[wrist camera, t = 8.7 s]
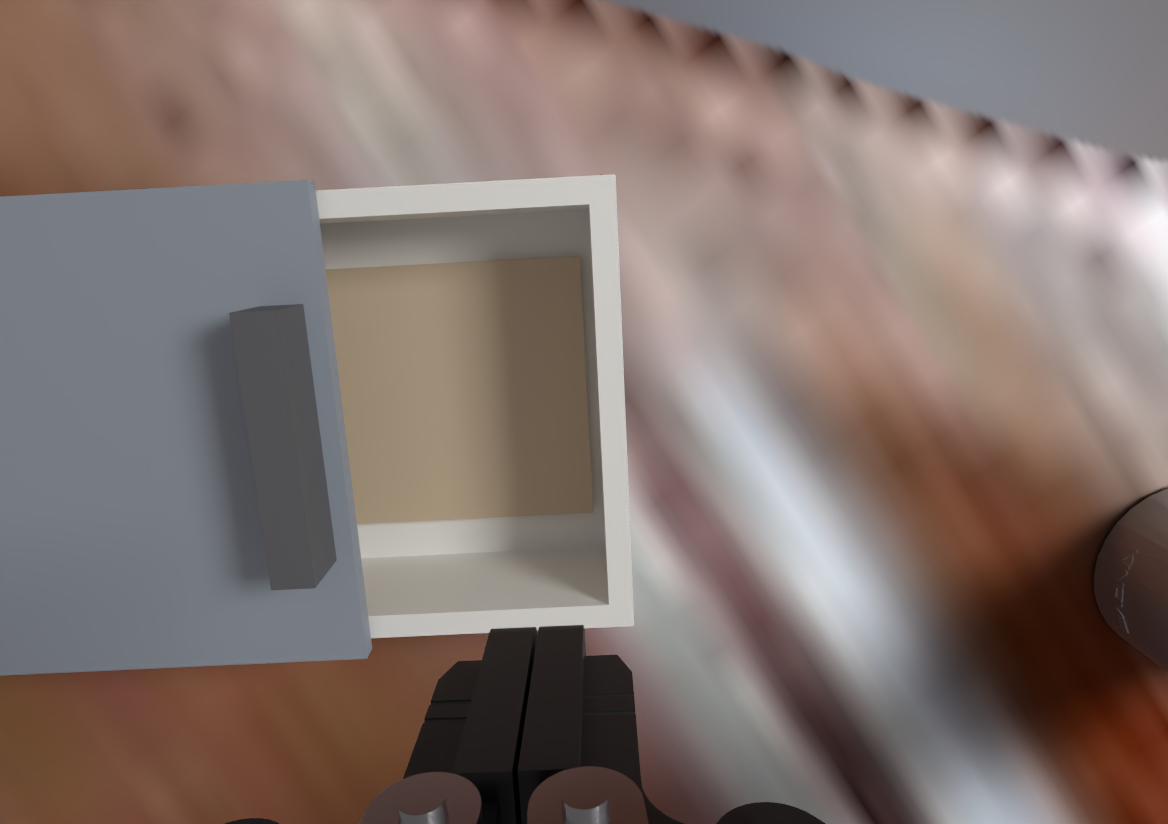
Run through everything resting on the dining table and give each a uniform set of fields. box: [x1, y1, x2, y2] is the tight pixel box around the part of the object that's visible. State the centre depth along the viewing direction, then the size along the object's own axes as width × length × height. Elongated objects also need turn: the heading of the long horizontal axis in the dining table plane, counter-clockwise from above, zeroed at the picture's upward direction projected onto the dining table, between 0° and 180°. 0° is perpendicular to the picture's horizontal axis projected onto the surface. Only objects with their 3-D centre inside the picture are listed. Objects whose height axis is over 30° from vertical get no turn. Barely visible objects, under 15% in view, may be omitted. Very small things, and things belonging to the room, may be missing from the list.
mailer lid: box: [0, 180, 372, 676], centre depth 29 cm, size 21×19×3 cm
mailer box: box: [316, 174, 634, 638], centre depth 34 cm, size 20×18×7 cm
